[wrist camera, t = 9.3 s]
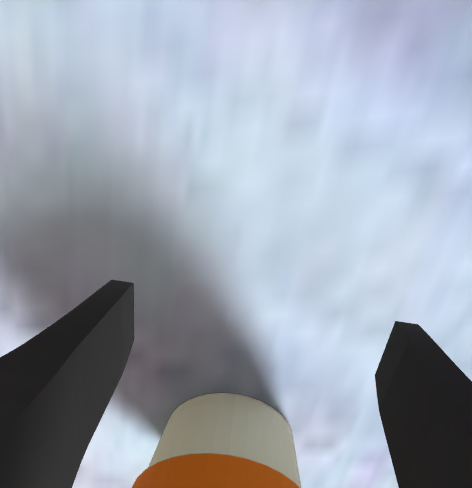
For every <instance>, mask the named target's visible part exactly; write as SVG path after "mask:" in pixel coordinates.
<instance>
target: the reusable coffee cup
mask: <svg viewBox="0 0 472 488" xmlns="http://www.w3.org/2000/svg"><path fill="white" fill-rule="evenodd" d="M132 488H301V482H300V476H299V470H298V464H297V458H296V452H295V446H294V440H293V435H292V430H291V428H290V426H289V424H288V422H287V421H286V420H285V419H284V417H283V416H282V415H281V414H280V413H279V412H277V411H276V410H275V409H274V408H272V407H271V406H269V405H267V404H265V403H263V402H262V401H259V400H256V399H254V398H251V397H248V396H243V395H239V394H231V393H213V394H206V395H201V396H197V397H195V398H192V399H190V400H187V401H186V402H184V403H183V404H181V405H180V406H178V407H177V408H176V409H175V410H174V412H173V413H172V414H171V416H170V418H169V420H168V422H167V425H166V427H165V429H164V432H163V434H162V436H161V439H160V441H159V443H158V446H157V448H156V450H155V453H154V455H153V457H152V460H151V462H150V464H149V467H148V468H147V469H146V470H145V471H144V472H143V473H142V474H141V475H140V476H139V477H138V478H137V479H136V481H135V483H134V485H133V487H132Z"/></svg>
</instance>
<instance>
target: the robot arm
mask: <svg viewBox="0 0 472 488" xmlns="http://www.w3.org/2000/svg"><path fill="white" fill-rule="evenodd" d="M133 341H134V283H130V282H123V281H116V280H111V281H110V282H108V283H107V284H106V285H104V286H103V287H102V288H100V289H99V290H98V291H96V292H95V293H94V294H93V295H91V296H90V297H89V298H87V299H86V300H85V301H84V302H82V303H81V304H80V305H78V306H77V307H76V308H74V309H73V310H72V311H70V312H69V313H68V314H66V315H65V316H64V317H62V318H61V319H59V320H58V321H57V322H55V323H54V324H53V325H51V326H50V327H48V328H47V329H45V330H44V331H42V332H41V333H39V334H38V335H36V336H35V337H33V338H32V339H30V340H29V341H27V342H26V343H24V344H23V345H21V346H19V347H18V348H16V349H14V350H13V351H11V352H9V353H7V354H6V355H4V356H2V357H0V488H72V486H73V483H74V480H75V477H76V475H77V472H78V469H79V466H80V464H81V461H82V459H83V456H84V454H85V452H86V449H87V447H88V445H89V443H90V441H91V438H92V436H93V434H94V432H95V430H96V428H97V426H98V424H99V422H100V420H101V418H102V416H103V413H104V411H105V409H106V407H107V405H108V403H109V401H110V399H111V397H112V395H113V393H114V390H115V388H116V386H117V384H118V382H119V380H120V378H121V376H122V373H123V371H124V368H125V365H126V362H127V359H128V356H129V353H130V350H131V347H132V344H133ZM375 380H376V389H377V398H378V405H379V412H380V416H381V420H382V424H383V428H384V432H385V436H386V440H387V444H388V448H389V451H390V455H391V459H392V463H393V467H394V471H395V474H396V478H397V482H398V486H399V488H472V381H471V380H470V379H469V378H468V377H467V376H466V375H465V374H464V373H463V372H462V371H461V370H460V369H459V368H458V367H457V366H456V365H455V363H454V362H453V361H452V360H451V359H450V358H449V357H448V356H447V355H446V354H445V353H444V351H443V350H442V349H441V348H440V347H439V346H438V345H437V344H436V343H435V342H434V341H433V339H432V338H431V337H430V336H429V335H428V334H427V333H426V332H425V331H424V330H423V329H422V328H421V327H420V326H419V325H418V324H411V323H404V322H398V321H395V324H394V326H393V329H392V332H391V334H390V337H389V340H388V342H387V345H386V347H385V350H384V353H383V355H382V358H381V361H380V363H379V366H378V369H377V371H376V374H375Z"/></svg>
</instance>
